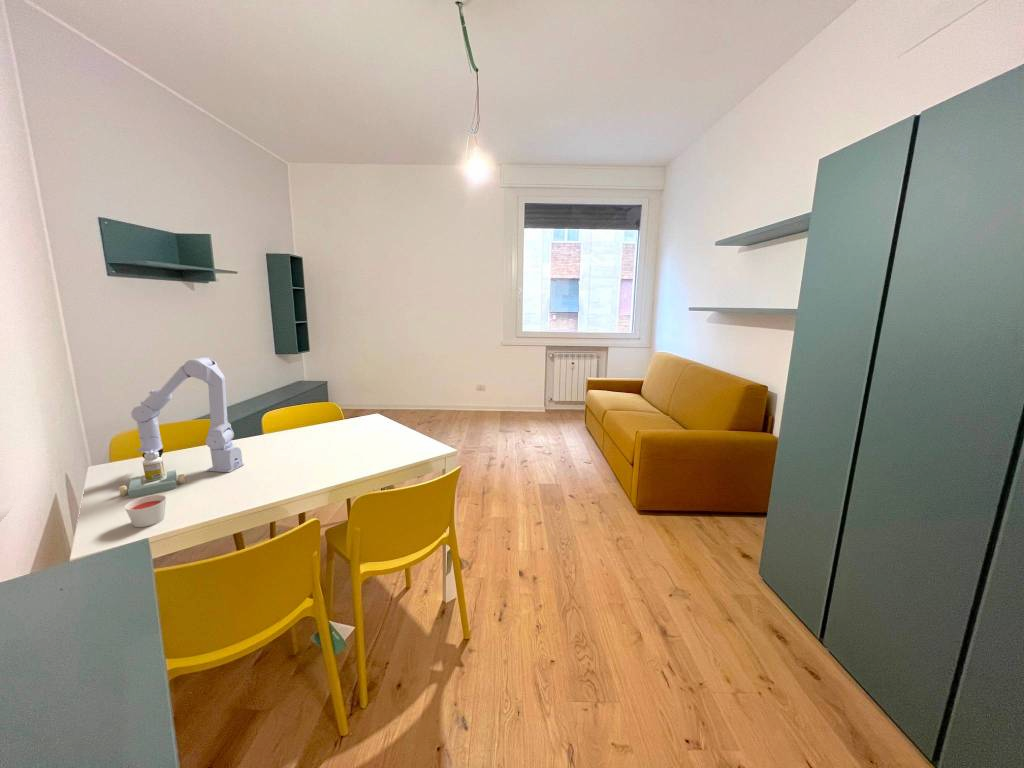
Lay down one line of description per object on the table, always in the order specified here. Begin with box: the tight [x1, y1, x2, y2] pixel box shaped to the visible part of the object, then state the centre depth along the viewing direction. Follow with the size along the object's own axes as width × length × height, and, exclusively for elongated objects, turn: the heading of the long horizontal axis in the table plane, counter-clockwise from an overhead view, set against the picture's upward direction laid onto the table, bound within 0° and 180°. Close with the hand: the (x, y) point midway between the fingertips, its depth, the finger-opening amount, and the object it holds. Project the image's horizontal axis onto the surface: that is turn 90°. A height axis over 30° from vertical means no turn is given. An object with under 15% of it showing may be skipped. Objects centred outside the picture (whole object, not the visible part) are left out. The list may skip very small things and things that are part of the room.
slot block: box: [118, 469, 186, 499], centre depth 139 cm, size 12×17×3 cm
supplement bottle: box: [142, 452, 166, 482], centre depth 144 cm, size 5×5×10 cm
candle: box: [124, 494, 167, 528], centre depth 117 cm, size 9×9×6 cm
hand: (155, 469), depth 149 cm, fingers closed
